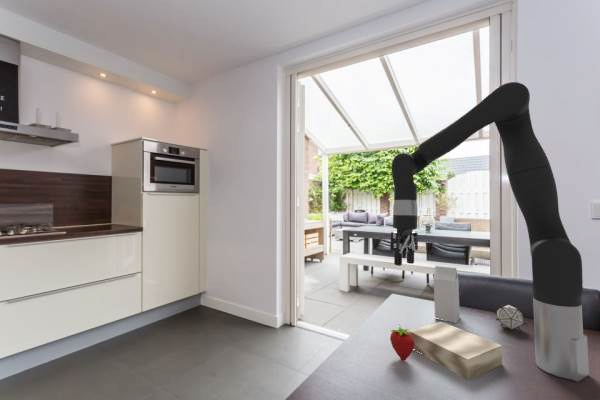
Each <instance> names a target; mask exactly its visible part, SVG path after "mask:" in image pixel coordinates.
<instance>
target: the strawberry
mask: <svg viewBox="0 0 600 400" xmlns="http://www.w3.org/2000/svg"><path fill="white" fill-rule="evenodd" d="M409 331H410V329H404V328H402V326H401V325H399V326H398V329H392V330H391V333H390V338H389V340H390V343H391V346H392V349H393V351H395V353H396V354H397V356H398V357H399V359H400V360H401V361H402V360H403V362H405V361H407V359H408V358H409V357H410V356H411V354H412V353H413V351H414V350H413V349H414V339H413V337H412V336H411V335H410V334H409V333H410V332H409Z"/></svg>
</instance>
